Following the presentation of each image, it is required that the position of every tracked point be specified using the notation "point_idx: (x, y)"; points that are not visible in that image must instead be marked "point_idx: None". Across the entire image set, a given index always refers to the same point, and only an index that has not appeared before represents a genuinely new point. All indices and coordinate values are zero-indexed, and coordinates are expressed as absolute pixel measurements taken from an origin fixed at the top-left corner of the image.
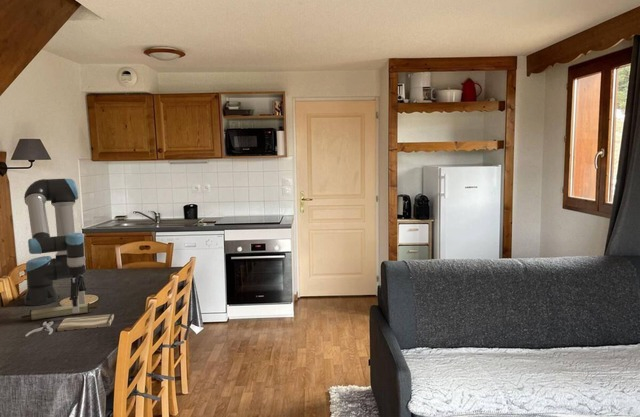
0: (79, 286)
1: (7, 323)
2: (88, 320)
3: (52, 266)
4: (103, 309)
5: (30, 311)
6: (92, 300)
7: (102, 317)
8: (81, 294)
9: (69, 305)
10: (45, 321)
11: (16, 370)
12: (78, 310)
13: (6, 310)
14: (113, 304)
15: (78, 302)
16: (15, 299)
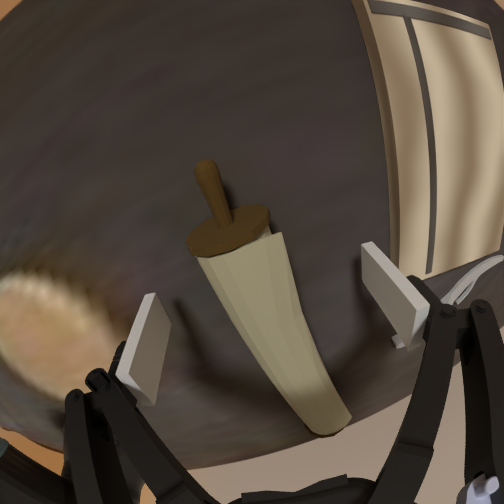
0: (164, 448)
1: None
2: (463, 133)
3: None
4: (158, 134)
5: (338, 431)
6: (25, 299)
7: (428, 56)
8: (147, 368)
9: (276, 354)
10: (398, 346)
11: None
12: (379, 250)
13: (207, 466)
14: (51, 127)
15: (401, 286)
16: None
